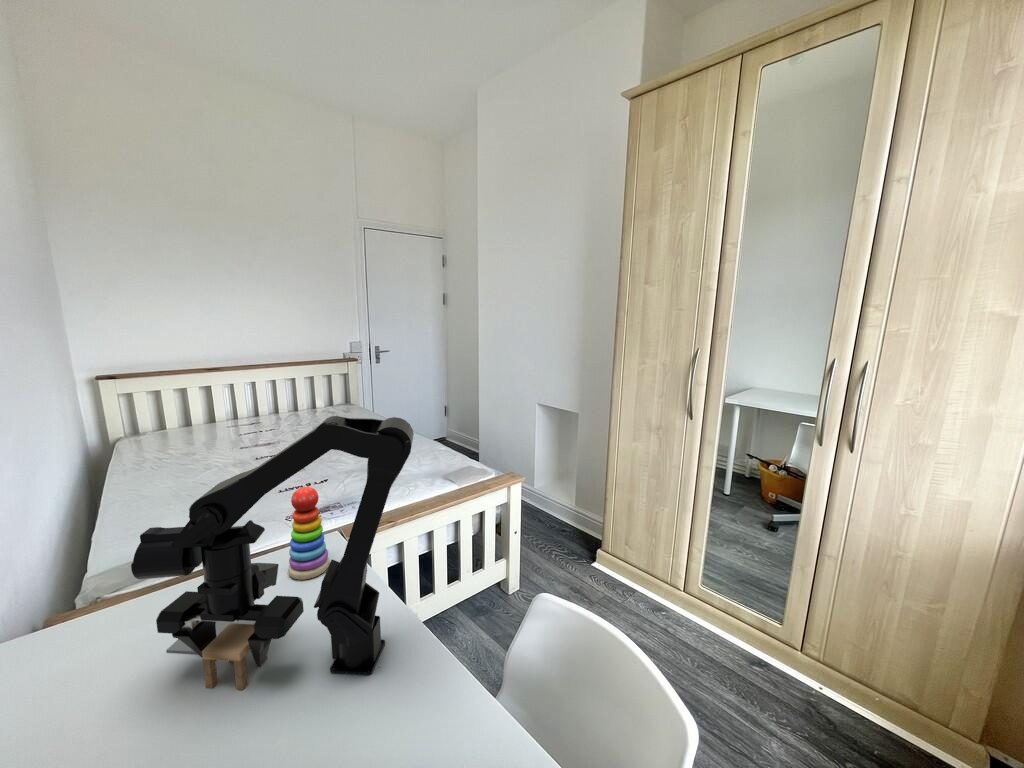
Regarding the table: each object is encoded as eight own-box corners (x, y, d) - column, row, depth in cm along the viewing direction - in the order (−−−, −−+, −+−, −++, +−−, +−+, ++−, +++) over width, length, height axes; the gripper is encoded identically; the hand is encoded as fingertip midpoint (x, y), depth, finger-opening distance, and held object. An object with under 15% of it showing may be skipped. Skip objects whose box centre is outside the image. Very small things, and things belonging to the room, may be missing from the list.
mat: (266, 611, 76) (266, 609, 76) (226, 655, 66) (226, 653, 66) (213, 609, 76) (213, 607, 76) (166, 652, 66) (166, 650, 66)
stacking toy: (280, 574, 87) (273, 489, 84) (313, 555, 94) (308, 476, 91) (304, 586, 83) (298, 498, 80) (337, 565, 90) (333, 484, 87)
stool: (267, 658, 66) (264, 625, 65) (243, 690, 60) (239, 653, 59) (233, 657, 66) (229, 623, 65) (205, 688, 60) (201, 651, 59)
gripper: (318, 542, 68) (323, 627, 70) (208, 537, 69) (217, 622, 71) (277, 585, 57) (285, 685, 59) (147, 579, 58) (159, 677, 60)
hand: (237, 663), depth 63 cm, fingers open, 7 cm apart
